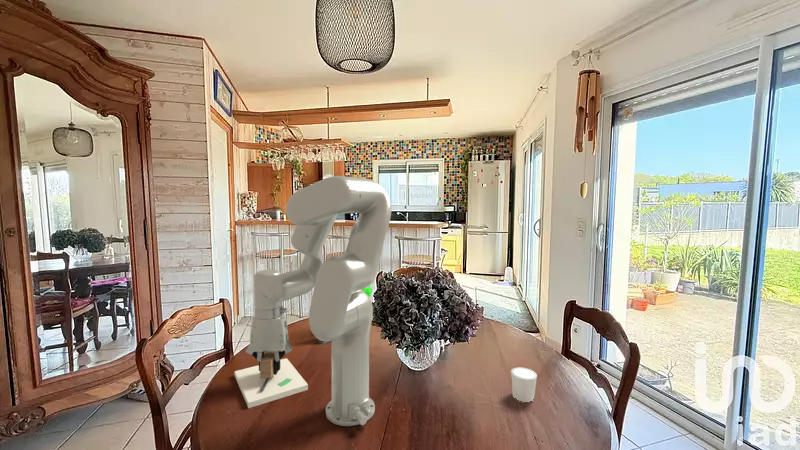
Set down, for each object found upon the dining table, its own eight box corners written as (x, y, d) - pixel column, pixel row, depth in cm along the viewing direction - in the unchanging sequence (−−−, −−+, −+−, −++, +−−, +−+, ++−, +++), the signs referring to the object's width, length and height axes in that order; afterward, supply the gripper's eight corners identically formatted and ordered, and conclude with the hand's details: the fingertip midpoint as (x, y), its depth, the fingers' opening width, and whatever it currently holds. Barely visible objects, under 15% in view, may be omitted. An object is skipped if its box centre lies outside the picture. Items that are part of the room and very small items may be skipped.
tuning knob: (268, 370, 107) (268, 349, 107) (278, 370, 107) (278, 349, 107) (255, 391, 95) (255, 368, 95) (267, 391, 96) (266, 367, 95)
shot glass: (519, 405, 93) (520, 380, 92) (505, 392, 100) (506, 368, 99) (541, 402, 95) (542, 377, 94) (526, 388, 101) (527, 365, 101)
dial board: (307, 389, 100) (307, 384, 100) (248, 408, 91) (248, 402, 91) (286, 362, 116) (286, 357, 116) (234, 376, 107) (234, 370, 107)
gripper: (299, 307, 106) (300, 365, 108) (244, 308, 105) (245, 367, 106) (294, 316, 99) (295, 378, 100) (234, 317, 97) (236, 380, 99)
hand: (269, 372), depth 103 cm, fingers closed on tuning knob, 3 cm apart
